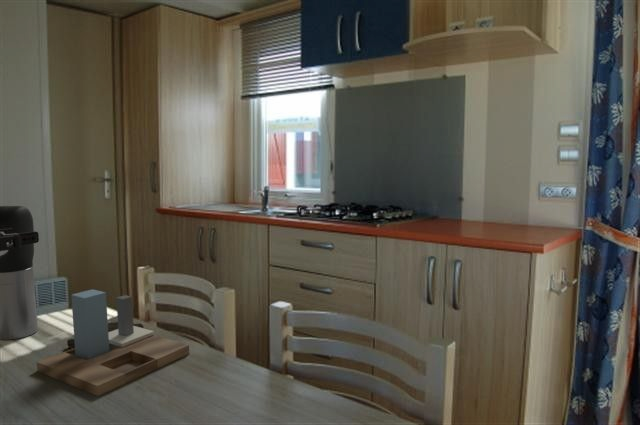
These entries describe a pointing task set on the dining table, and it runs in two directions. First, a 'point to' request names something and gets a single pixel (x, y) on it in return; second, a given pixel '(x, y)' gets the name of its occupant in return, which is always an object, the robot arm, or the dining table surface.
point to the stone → (111, 327)
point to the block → (90, 324)
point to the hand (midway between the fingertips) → (26, 234)
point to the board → (112, 364)
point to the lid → (126, 325)
